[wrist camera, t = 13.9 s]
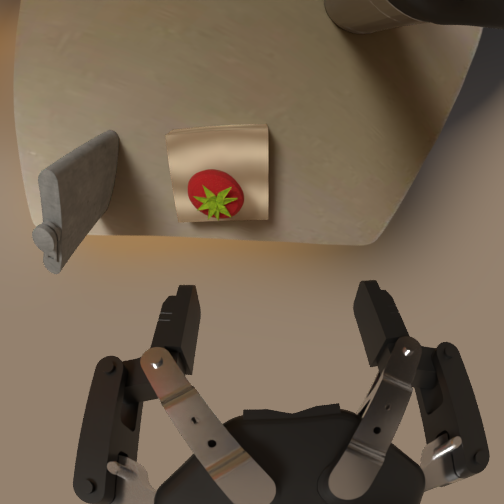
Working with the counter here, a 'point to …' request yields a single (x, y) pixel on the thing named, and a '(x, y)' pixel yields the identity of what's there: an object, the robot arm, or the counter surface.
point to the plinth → (221, 165)
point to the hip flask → (75, 197)
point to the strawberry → (215, 194)
